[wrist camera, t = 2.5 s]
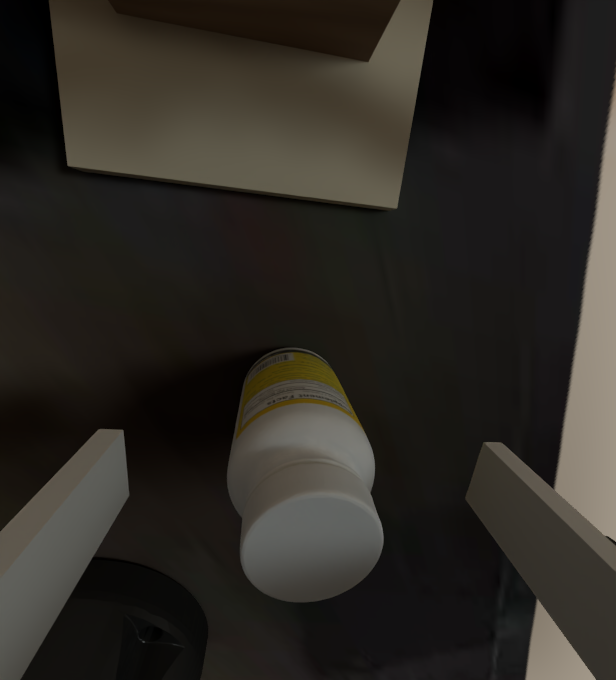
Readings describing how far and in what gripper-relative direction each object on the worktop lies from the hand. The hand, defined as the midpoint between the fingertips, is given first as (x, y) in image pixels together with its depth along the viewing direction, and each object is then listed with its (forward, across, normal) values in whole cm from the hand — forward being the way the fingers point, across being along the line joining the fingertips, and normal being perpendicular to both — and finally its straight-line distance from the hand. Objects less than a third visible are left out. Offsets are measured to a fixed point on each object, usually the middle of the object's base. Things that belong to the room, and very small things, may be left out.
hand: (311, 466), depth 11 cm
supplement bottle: (+7, 0, 0) cm, 7 cm away
